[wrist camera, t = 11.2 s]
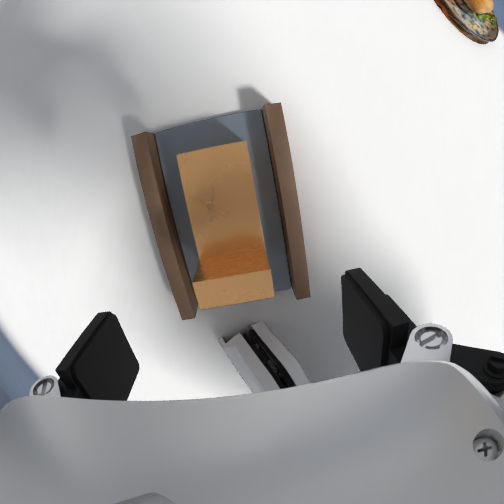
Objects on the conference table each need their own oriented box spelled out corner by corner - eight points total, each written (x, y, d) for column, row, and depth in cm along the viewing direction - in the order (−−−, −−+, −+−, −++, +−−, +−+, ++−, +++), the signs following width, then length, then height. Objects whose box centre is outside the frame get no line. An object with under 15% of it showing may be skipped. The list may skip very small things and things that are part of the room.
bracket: (265, 258, 25) (274, 297, 18) (209, 267, 25) (199, 309, 18) (245, 142, 21) (248, 137, 15) (183, 154, 21) (161, 155, 15)
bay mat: (260, 109, 21) (260, 109, 20) (290, 286, 26) (291, 288, 26) (155, 133, 21) (154, 133, 21) (199, 303, 27) (198, 305, 26)
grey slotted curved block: (215, 336, 28) (250, 396, 19) (255, 313, 29) (304, 362, 20) (273, 420, 34) (309, 470, 24) (302, 402, 35) (343, 447, 26)
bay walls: (276, 107, 21) (280, 102, 18) (304, 284, 26) (310, 296, 24) (141, 137, 21) (131, 136, 19) (186, 305, 27) (182, 319, 24)
